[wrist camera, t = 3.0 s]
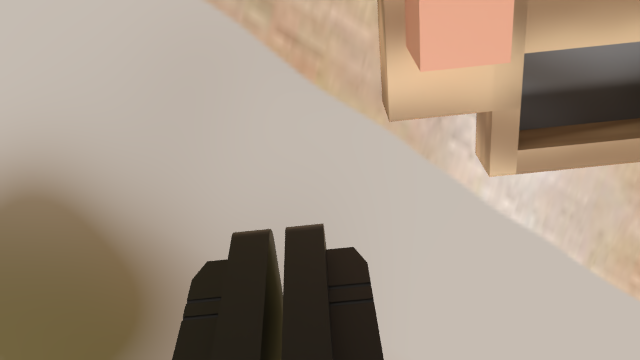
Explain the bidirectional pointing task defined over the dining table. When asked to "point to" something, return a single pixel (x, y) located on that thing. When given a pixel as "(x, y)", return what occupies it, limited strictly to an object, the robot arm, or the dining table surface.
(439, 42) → the block
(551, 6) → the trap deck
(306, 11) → the dining table surface
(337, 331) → the robot arm
